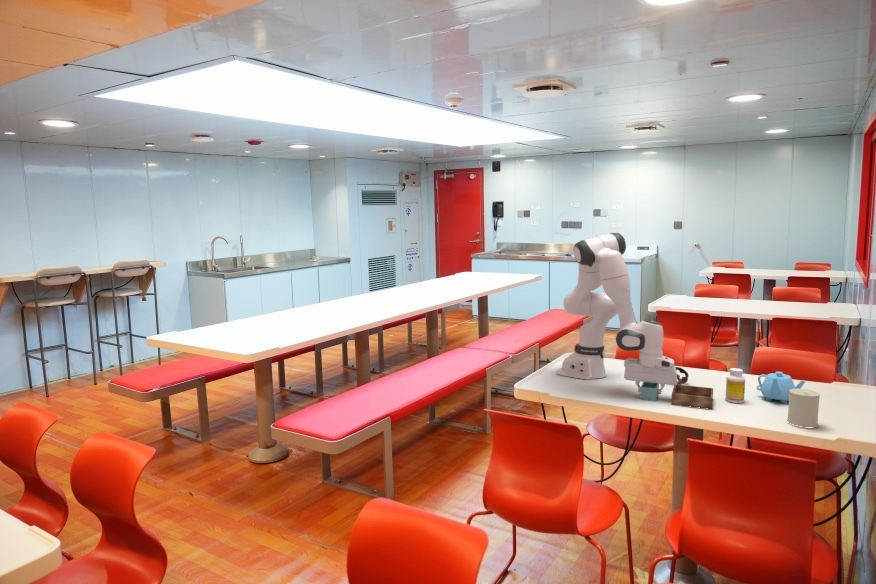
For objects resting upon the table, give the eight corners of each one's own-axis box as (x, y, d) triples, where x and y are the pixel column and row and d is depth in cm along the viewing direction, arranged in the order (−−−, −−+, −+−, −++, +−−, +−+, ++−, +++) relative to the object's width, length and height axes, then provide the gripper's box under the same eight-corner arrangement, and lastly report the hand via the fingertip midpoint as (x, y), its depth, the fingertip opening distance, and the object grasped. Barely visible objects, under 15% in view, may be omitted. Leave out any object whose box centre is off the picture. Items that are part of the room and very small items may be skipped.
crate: (671, 404, 225) (671, 393, 225) (674, 394, 238) (674, 384, 237) (711, 409, 219) (712, 398, 218) (712, 399, 231) (713, 388, 231)
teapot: (807, 405, 222) (809, 376, 221) (772, 406, 222) (774, 377, 221) (783, 394, 238) (785, 367, 236) (750, 394, 237) (752, 367, 236)
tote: (655, 401, 230) (656, 388, 229) (640, 399, 232) (640, 387, 232) (658, 394, 239) (659, 382, 238) (643, 392, 241) (643, 380, 241)
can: (789, 426, 200) (792, 393, 198) (784, 418, 208) (786, 386, 207) (820, 429, 197) (823, 395, 195) (814, 421, 205) (816, 388, 204)
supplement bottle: (745, 404, 224) (747, 372, 223) (726, 402, 227) (727, 370, 225) (742, 399, 231) (744, 368, 229) (724, 397, 233) (725, 366, 231)
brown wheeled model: (678, 380, 261) (686, 367, 256) (684, 395, 253) (693, 381, 248) (653, 374, 260) (661, 361, 255) (658, 388, 252) (667, 375, 247)
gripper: (623, 358, 235) (622, 391, 237) (677, 363, 226) (675, 398, 228) (625, 355, 241) (624, 387, 243) (678, 360, 232) (676, 393, 233)
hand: (649, 392), depth 235 cm, fingers closed on tote, 6 cm apart
